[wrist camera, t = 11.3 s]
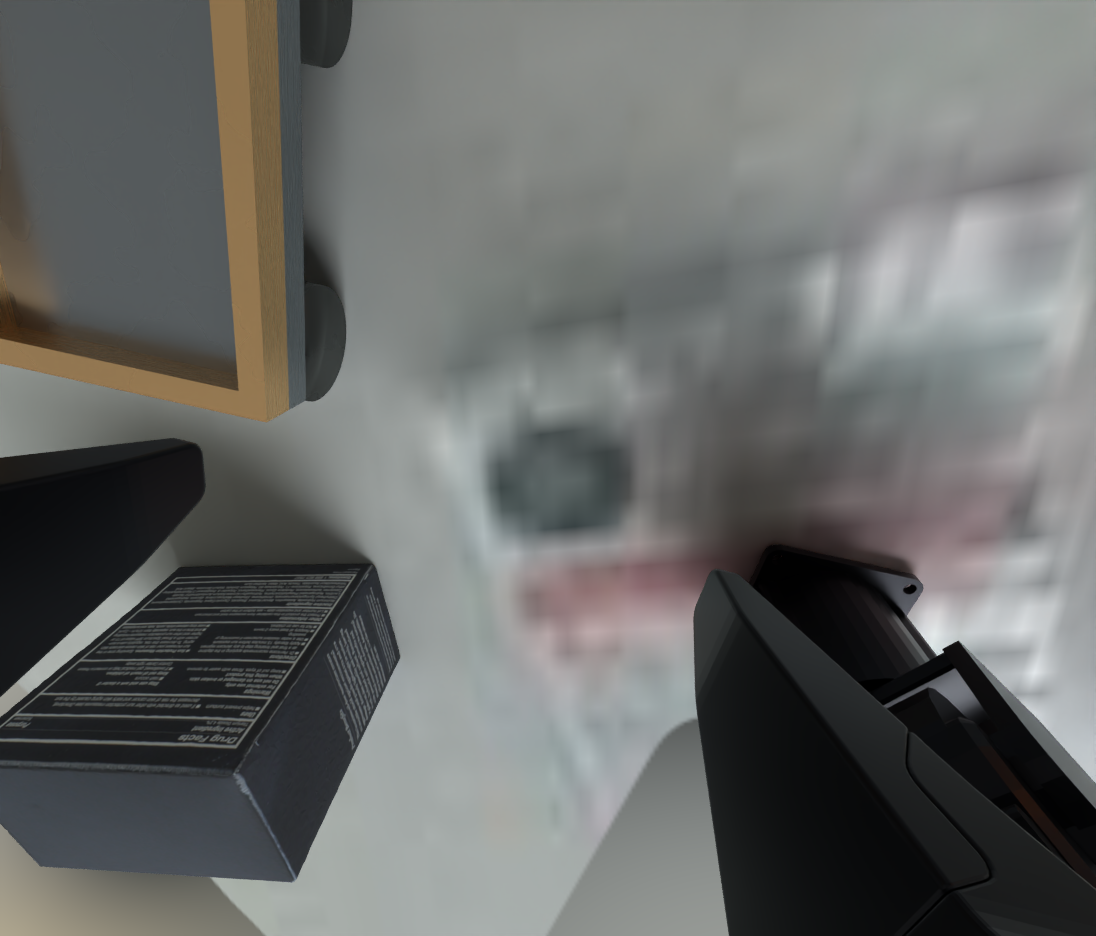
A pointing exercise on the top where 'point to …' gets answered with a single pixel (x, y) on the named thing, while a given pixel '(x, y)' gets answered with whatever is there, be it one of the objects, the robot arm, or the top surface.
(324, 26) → the wooden frame tray
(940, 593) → the top surface
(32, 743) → the small box
